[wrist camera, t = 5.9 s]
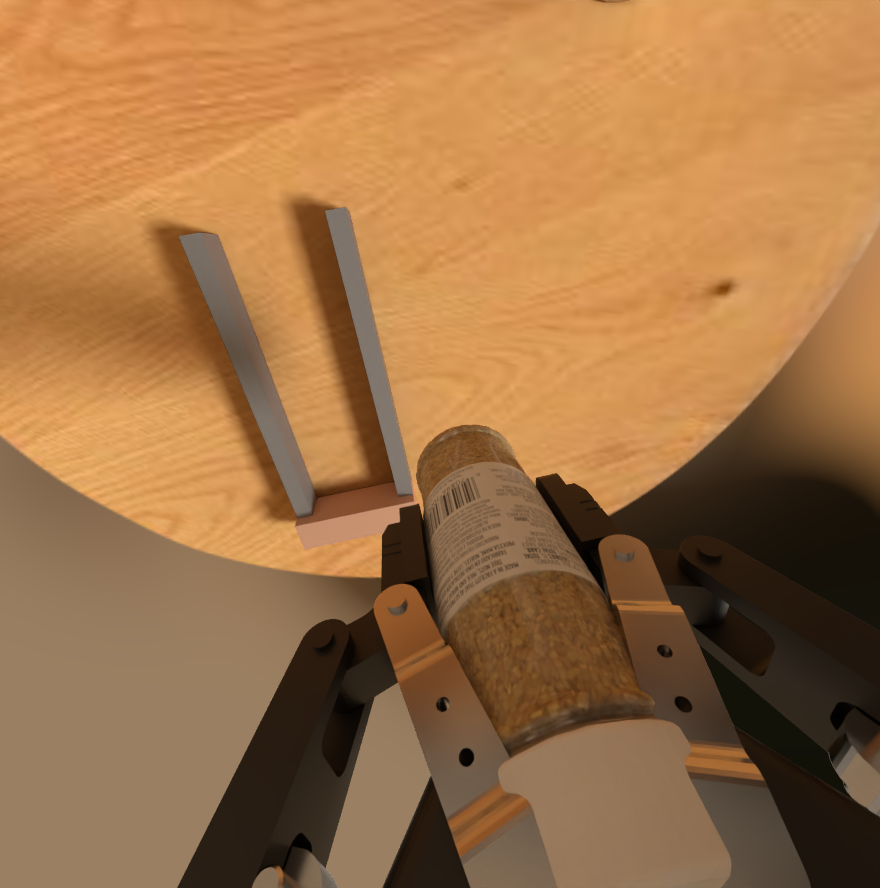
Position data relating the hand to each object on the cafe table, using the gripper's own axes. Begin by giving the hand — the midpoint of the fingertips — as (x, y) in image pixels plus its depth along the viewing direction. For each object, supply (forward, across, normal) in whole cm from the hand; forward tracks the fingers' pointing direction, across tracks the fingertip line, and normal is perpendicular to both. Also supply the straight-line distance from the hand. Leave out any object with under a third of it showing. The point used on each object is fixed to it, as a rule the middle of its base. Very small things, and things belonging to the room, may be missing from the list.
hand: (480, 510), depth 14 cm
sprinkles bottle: (+3, 0, 0) cm, 3 cm away
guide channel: (+17, +8, 0) cm, 19 cm away
